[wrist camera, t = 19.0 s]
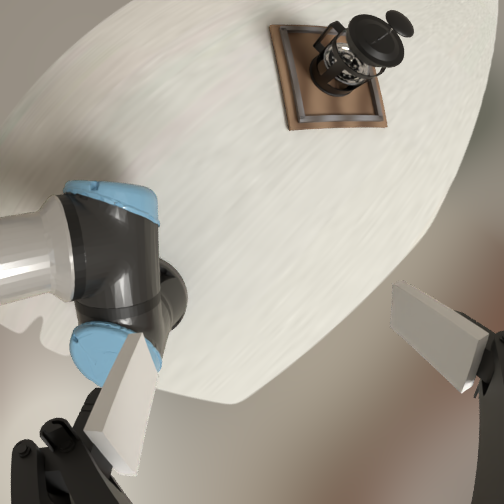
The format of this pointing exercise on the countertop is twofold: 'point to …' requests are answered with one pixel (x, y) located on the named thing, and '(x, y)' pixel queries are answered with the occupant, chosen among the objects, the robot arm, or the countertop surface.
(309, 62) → the serving board
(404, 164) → the countertop surface
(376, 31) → the french press
